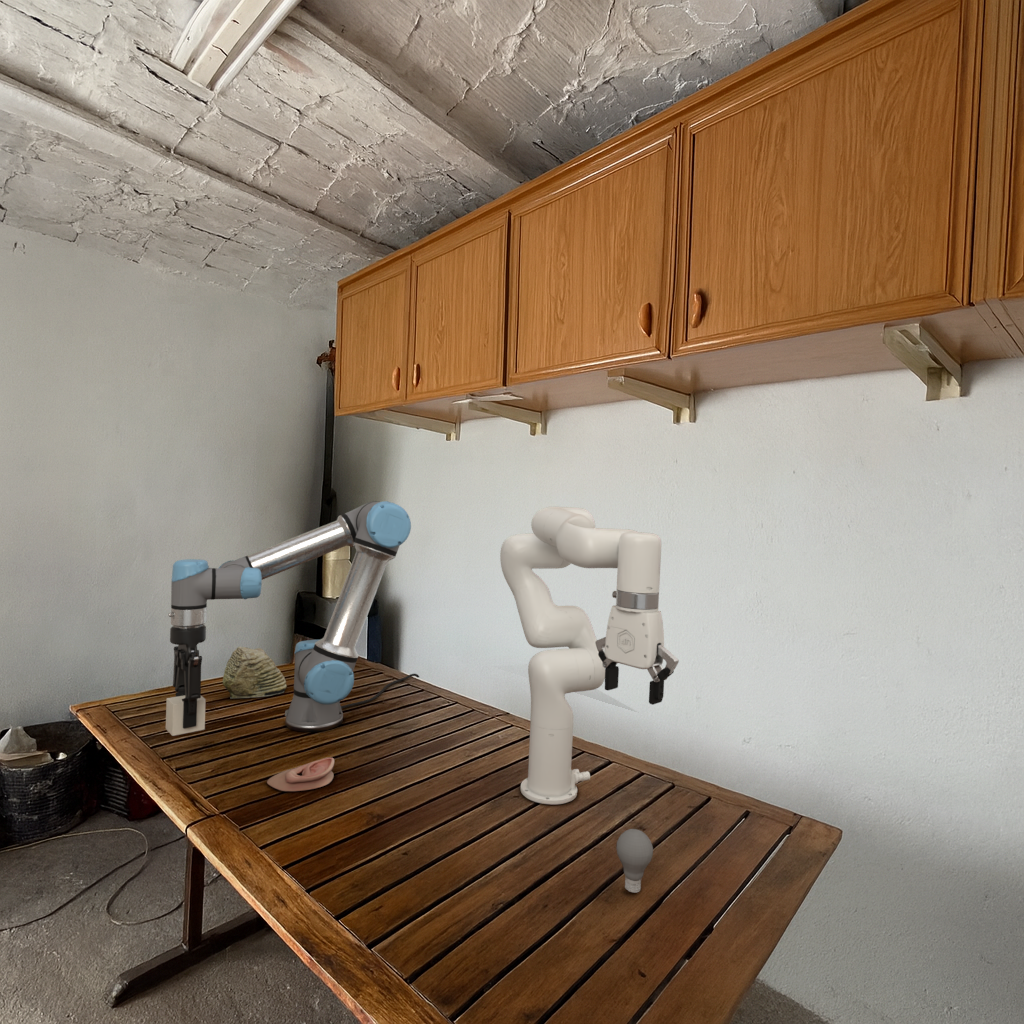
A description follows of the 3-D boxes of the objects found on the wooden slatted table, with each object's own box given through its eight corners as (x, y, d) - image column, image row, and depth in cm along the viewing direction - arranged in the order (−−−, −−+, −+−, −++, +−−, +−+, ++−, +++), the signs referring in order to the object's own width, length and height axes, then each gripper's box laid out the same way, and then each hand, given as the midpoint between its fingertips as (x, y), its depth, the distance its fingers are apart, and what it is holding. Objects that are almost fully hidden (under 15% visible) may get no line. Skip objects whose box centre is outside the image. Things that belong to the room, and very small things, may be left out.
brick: (165, 728, 149) (166, 698, 149) (197, 722, 154) (198, 692, 154) (172, 736, 145) (173, 704, 145) (204, 729, 150) (205, 699, 150)
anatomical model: (259, 769, 136) (288, 749, 147) (258, 787, 136) (288, 766, 147) (316, 777, 133) (341, 756, 145) (315, 796, 133) (340, 773, 145)
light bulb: (610, 879, 108) (613, 822, 108) (644, 879, 109) (647, 822, 109) (619, 902, 102) (622, 840, 102) (655, 901, 103) (658, 840, 103)
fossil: (218, 695, 195) (220, 647, 195) (278, 685, 208) (279, 640, 207) (228, 703, 189) (230, 653, 188) (289, 692, 201) (290, 645, 201)
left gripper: (160, 620, 154) (157, 715, 154) (182, 634, 140) (179, 738, 140) (193, 617, 159) (190, 709, 159) (218, 630, 145) (215, 731, 145)
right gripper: (586, 595, 117) (582, 687, 118) (666, 610, 105) (661, 713, 105) (611, 593, 123) (607, 680, 123) (691, 606, 110) (686, 704, 110)
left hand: (185, 722), depth 150 cm, fingers closed on brick, 6 cm apart
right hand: (632, 695), depth 114 cm, fingers open, 9 cm apart
